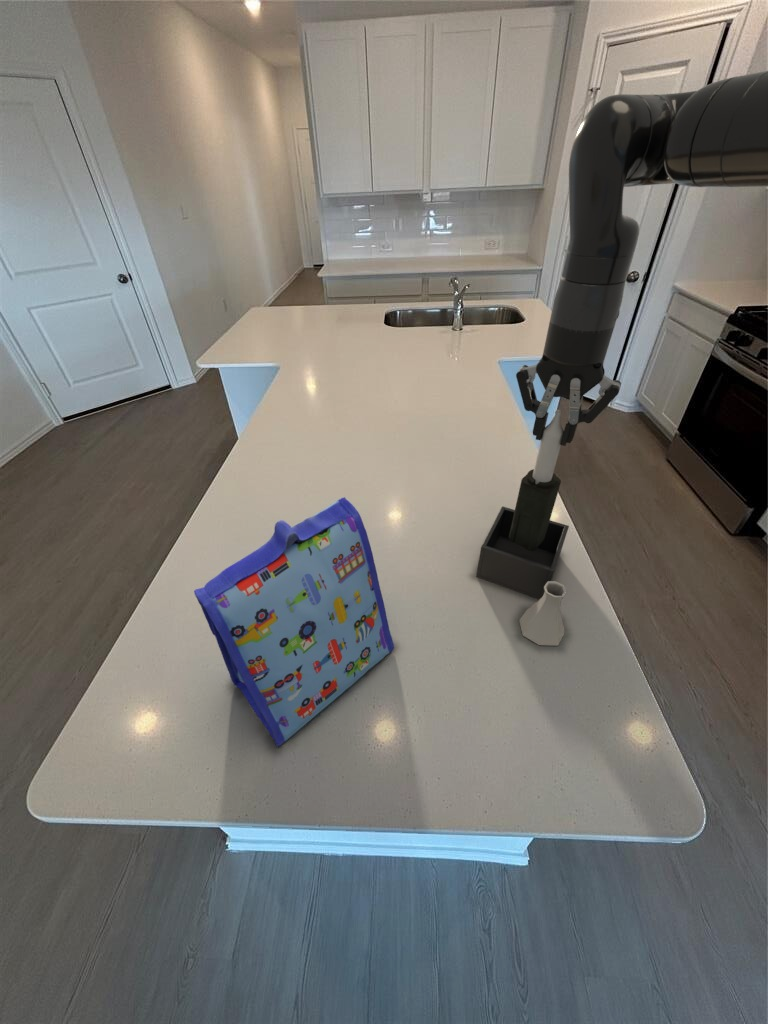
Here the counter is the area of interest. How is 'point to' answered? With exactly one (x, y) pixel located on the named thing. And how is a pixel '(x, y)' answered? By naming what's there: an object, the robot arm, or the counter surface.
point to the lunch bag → (300, 617)
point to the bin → (519, 557)
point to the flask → (545, 617)
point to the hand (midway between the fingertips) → (551, 439)
